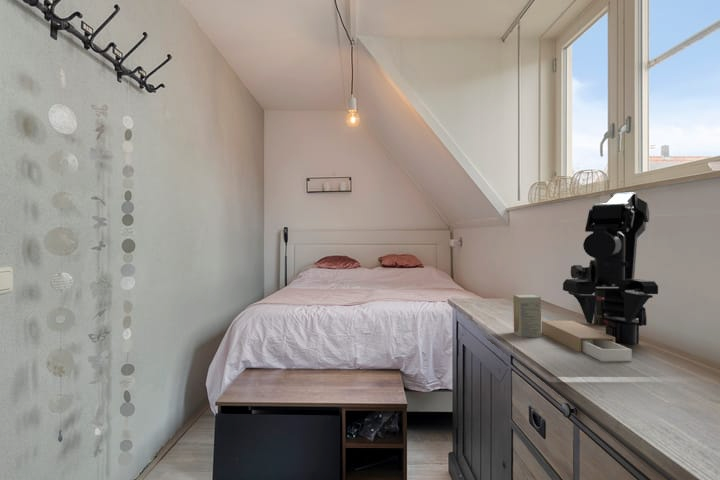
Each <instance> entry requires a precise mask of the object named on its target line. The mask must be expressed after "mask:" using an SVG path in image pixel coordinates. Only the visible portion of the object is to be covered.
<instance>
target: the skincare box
mask: <svg viewBox="0 0 720 480" xmlns="http://www.w3.org/2000/svg"><path fill="white" fill-rule="evenodd" d="M512 297H513V298H512V299H513V301H512V302H513V333H514V334H515V335H516V336H518V338H519V337H520V338H542V302H541V301H542V299H541V296H538V295H536V294H513V295H512Z"/></svg>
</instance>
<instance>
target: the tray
mask: <svg viewBox="0 0 720 480" xmlns="http://www.w3.org/2000/svg"><path fill="white" fill-rule="evenodd" d="M592 340H593V344H590V343H588V342H586V341H584V340H582V339H581V352H582V353H585V354H587V355H588V356H590V357H593V358H594V359H597V360H598V361H601V362H632V360H633V359H632V357H633V356H632V353H633V352H632V351H633V350H632V348H628V347H626V346H625V345H623V344H619V343H614V342H612V341H609V340H607V339H592Z"/></svg>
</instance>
